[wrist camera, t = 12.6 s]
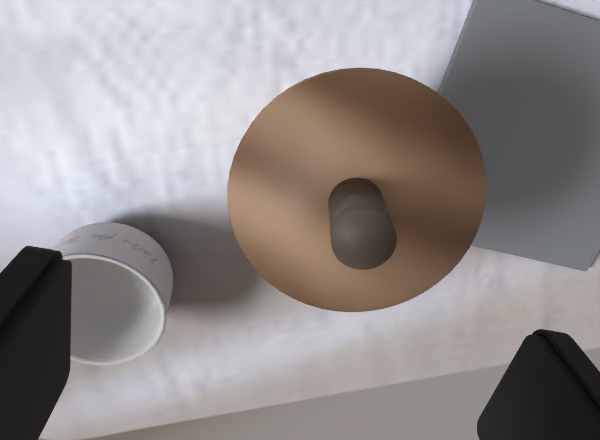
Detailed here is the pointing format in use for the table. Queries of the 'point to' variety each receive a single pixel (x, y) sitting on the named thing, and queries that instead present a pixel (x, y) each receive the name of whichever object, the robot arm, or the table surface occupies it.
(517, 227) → the mat
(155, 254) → the teacup
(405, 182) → the lid
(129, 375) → the table surface
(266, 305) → the table surface
